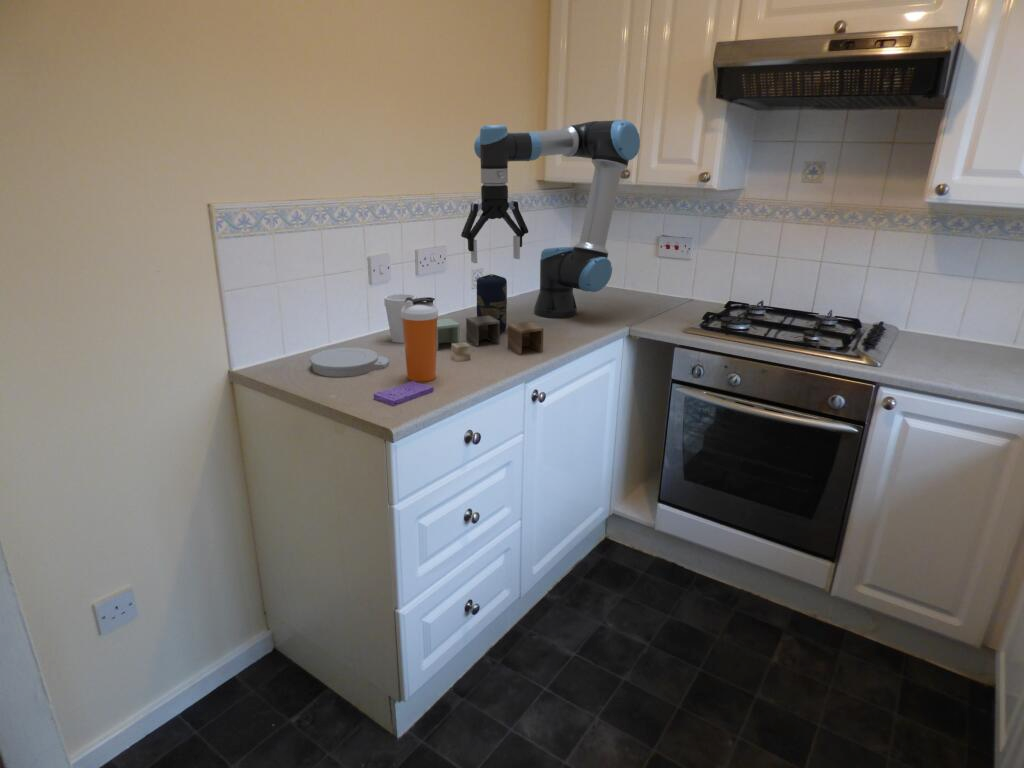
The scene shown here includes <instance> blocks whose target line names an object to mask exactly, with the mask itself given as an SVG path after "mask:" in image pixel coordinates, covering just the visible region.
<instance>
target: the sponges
mask: <svg viewBox="0 0 1024 768" xmlns="http://www.w3.org/2000/svg"><path fill="white" fill-rule="evenodd" d="M434 389H435V386H432V385H428V384H425V383H422V382H416V381H411V380H410V381H408V382H406V383H402V384H400V385H396V386H393V387H391V388H386V389H383V390H381V391H378V392H374V393H373V394H372V395H373V399H374V400H375V401H379V402H382V403H384V404H388V405H391V406H392V407H393V406H394V407H395V406H398V405H401V404H403V403H406V402H408V401H409V402H410V401H412V400H413V399H417V398H420V397H423V396H426V395H428V394H431V393H433V391H434Z"/></svg>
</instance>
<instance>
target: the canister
mask: <svg viewBox="0 0 1024 768" xmlns="http://www.w3.org/2000/svg"><path fill="white" fill-rule="evenodd" d="M507 282H508V281H507V278H506V277H504V276H500V275H496V274H493V273H491V274H486V275H483V276H480V277H478V278H477V280H476V317H480V316H491V317H493V318H495V319H497V320H499V321H500V333H501V332H504V331H506V329H507V326H508V323H507V320H508V318H507V307H508V306H507V305H508V285H507V284H508V283H507Z"/></svg>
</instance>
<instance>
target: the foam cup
mask: <svg viewBox="0 0 1024 768" xmlns="http://www.w3.org/2000/svg"><path fill="white" fill-rule="evenodd" d="M407 297H411V298H412V299H416V298H418V297H417V295H416V294H409V293H392V294H388V295H385V296H384V297H383V298H384V307H385V310H386V316H387V322H388V327H389V334H390V338H391V341H392V342H393V343H396V344H397V343H398V344H399V343H401V344H404V333H403V322H402V318H401V309H402V308H403V306H404V305H405V299H406V298H407Z"/></svg>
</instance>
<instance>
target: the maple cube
mask: <svg viewBox="0 0 1024 768" xmlns="http://www.w3.org/2000/svg"><path fill="white" fill-rule="evenodd" d="M450 344H451V346H450V347H451V359H453V360H454V361H456V362H463V361H470V360H471V345H469V344H468V343H467V342H464V341H463V342H462V341H461V342H460V343H453V344H452V343H450Z"/></svg>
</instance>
